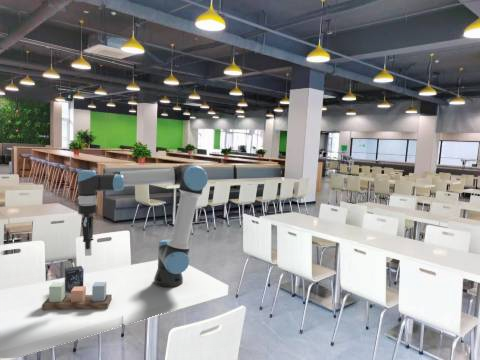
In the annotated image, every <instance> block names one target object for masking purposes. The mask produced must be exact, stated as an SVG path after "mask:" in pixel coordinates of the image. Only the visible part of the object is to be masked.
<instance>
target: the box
mask: <svg viewBox="0 0 480 360" xmlns="http://www.w3.org/2000/svg"><path fill="white" fill-rule="evenodd" d="M84 269H85V268H83V266H82V265H78V266H72V267H71V266H69V267H65V268H64V282H65V293H68V292H71V290H72V289H73V287H78V286H84Z"/></svg>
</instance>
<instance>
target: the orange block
mask: <svg viewBox="0 0 480 360" xmlns="http://www.w3.org/2000/svg"><path fill="white" fill-rule="evenodd" d="M86 290H87V288H86V285H85V286H84V285H83V286H78V287H73V289H72V290H71V291H70V295H71V302H84V301H85V299H86V295H87V291H86Z"/></svg>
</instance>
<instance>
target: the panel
mask: <svg viewBox="0 0 480 360" xmlns="http://www.w3.org/2000/svg"><path fill="white" fill-rule="evenodd" d="M112 295H113V294H106V298H105V300H104V301H92V294H86V299H85V301H84V302H71V294H65V298H64V299H63V300H62V302H49V296H48V297H47V298H46V300H45V301H44V302H43V303H42V304H41V310H42V311H62V310H63V311H67V310H69V311H71V310H72V311H73V310H108V309H109V307H110V304H111V302H112V300H113V299H112Z"/></svg>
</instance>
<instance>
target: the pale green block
mask: <svg viewBox="0 0 480 360" xmlns="http://www.w3.org/2000/svg"><path fill="white" fill-rule="evenodd" d="M48 290H49V291H48V293H49V294H48V297H49V302H52V303H54V302H62V300H63V299H64V298H65V295H66V290H65V281H64V282H63V281H61V282H52V283H51V284H50V285H49V288H48Z"/></svg>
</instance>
